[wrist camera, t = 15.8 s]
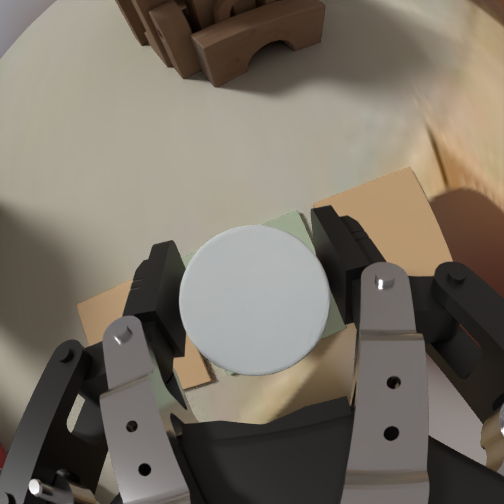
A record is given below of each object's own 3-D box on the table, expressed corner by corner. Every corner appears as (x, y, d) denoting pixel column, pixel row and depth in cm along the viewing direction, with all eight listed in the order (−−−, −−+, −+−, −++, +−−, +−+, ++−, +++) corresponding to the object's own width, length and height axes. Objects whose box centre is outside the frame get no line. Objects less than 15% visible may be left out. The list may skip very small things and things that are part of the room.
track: (116, 405, 16) (113, 406, 15) (78, 304, 17) (76, 304, 16) (453, 269, 15) (455, 268, 15) (408, 168, 16) (410, 166, 16)
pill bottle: (304, 249, 16) (335, 202, 8) (311, 337, 15) (350, 380, 7) (217, 257, 16) (161, 218, 8) (223, 344, 16) (173, 390, 7)
